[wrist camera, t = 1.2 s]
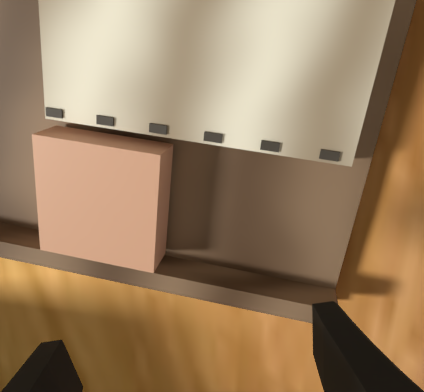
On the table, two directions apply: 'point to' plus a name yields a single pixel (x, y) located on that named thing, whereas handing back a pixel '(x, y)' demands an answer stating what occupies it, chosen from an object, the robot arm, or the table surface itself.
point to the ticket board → (210, 130)
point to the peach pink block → (102, 196)
